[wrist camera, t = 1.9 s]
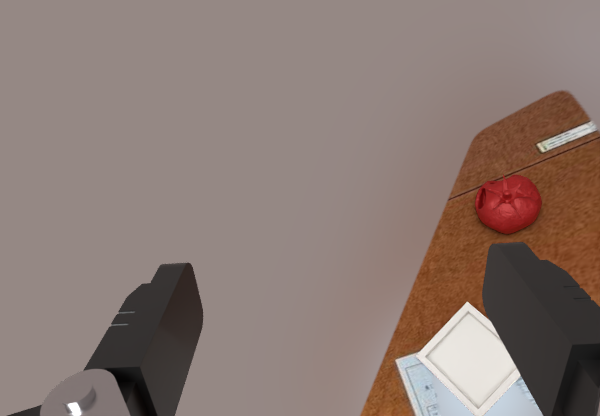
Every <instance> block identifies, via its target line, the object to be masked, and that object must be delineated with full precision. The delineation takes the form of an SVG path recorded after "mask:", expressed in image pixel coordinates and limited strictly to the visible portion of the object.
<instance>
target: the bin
mask: <svg viewBox="0 0 600 416" xmlns="http://www.w3.org/2000/svg"><path fill="white" fill-rule="evenodd" d="M416 357H417V358H418V359H419V360H420V361H421V362H422V363H423V364H424V365H425V366H426V367H427V368H428V369H429V370H430V371H431V372H432V373H433V374H434V375H435V376H436V377H437V378H438V379H439V380H440V381H441V382H442V383H443V384H444V385H445V386H446V387H447V388H448V389H449V390H450V391H451V392H452V393H453V394H454V395H455V396H456V397H457V398H458V399H459V400H460V401H461V402H462V403H463V404H464V405H465V406H466V407H467V408H468V409H469V410H470V411H471V412H472V413H473V414H474V415H475V416H483V415H484V414H485V413H486V412H487V411H488V410H489V409H490V408H491V407H492V406H493V405H494V404H495V403H496V402H497V401H498V399H499V398H500V397H501V396H502V395H503V394H504V393H505V392H506V391H507V390H508V389H509V388H510V387H511V386H512V385H513V384H514V383H515V381H516V380H517V379H518V378H519V377H520V376H521V375H520V373H519V371H518V369H517V368H516V366H515V364H514V362H513V360H512V359H511V357H510V355H509V353H508V351H507V350H506V348H505V346H504V344H503V342H502V341H501V339H500V337H499V335H498V334H497V332H496V330H495V328H494V326H493V325H492V323H491V321H489V320H488V319H487V318H486V317H485V316H484V315H482V314H481V313H480V312H479V311H478V310H477V309H475V308H474V307H473V306H472V305H471V304H469V303H468V302H466V303H465V305H464V306H463V307H462V308H461V309H460V310H459V311H458V312H457V313H456V314H455V315H454V316H453V317H452V318H451V319H450V320H449V321H448V322H447V324H446V325H445V326H444V327H443V328H442V329H441V330H440V331H439V332H438V333H437V334H436V335H435V336H434V337H433V338H432V339H431V340H430V341H429V343H428V344H427V345H426V346H425V347H424V348H423V349H422V350H421V351H420V352H419V353H418V354H417V355H416Z"/></svg>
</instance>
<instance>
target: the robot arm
mask: <svg viewBox="0 0 600 416" xmlns="http://www.w3.org/2000/svg"><path fill="white" fill-rule="evenodd" d="M579 286H580V285H579V284H578V283H577V282H576V281H575V280H574V279H573V278H572V277H571V276H570V275H569V274H568V273H567V272H566V271H565V270H563V269H561V268H560V267H558V266H556V265H555V264H553V263H551V262H550V261H548V260H539V258H538V257H537V256H536V255H535V254H534V253H533V252H532V250H531V249H530V248H529V247H528V246H527V245H526V244H525V243H523V242H515V243H498V244H492V245H491V246H490V248H489V251H488V257H487V264H486V271H485V277H484V284H483V291H482V297H483V304H484V308H485V311H486V314H487V316H488V317H489V319H490V321H491V323H492V325H493V326H494V328H495V330H496V332H497V334H498V335H499V337H500V339H501V341H502V342H503V344H504V346H505V348H506V350H507V351H508V353H509V355H510V357H511V359H512V360H513V362H514V364H515V366H516V368H517V369H518V371H519V373H520V375H521V376H522V378H523V380H524V382H525V384H526V385H527V387H528V389H529V391H530V393H531V394H532V396H533V398H534V400H535V402H536V403H537V405H538V407H539V409H540V410H541V412H542V414H543V416H600V307H599V306H598V305H597V304H596V303H595V302H594V301H593V300H591V299H590V298H591V297H590V296H589V295H588V294H587V293H586V292H585V291H584V290H583V289H582V288H580V287H579ZM111 324H112V326H111V327H109V328H108V330H107V332H106V334H105V335H104V337H103V338H102V340H101V342H100V344H99V345H98V347H97V349H96V350H95V352H94V354H93V355H92V357H91V359H90V360H89V362H88V364H87V366H86V367H85V369H84V371H82V372H79V373H77V374H74V375H72V376H70V377H68V378H67V379H65V380H64V381H62V382H61V383H60V384H58V385H57V386H56V387H55V388H54V389H53V390H52V391H51V392H50V393H49V394H48V396H47V397H46V399H45V400H44V402H43V404H42V405H40V406H37V407H34V408H31V409H27V410H24V411H21V412H18V413H14V414H11V415H8V416H175V413H176V410H177V406H178V403H179V400H180V397H181V394H182V390H183V387H184V384H185V381H186V378H187V375H188V371H189V368H190V365H191V362H192V359H193V356H194V352H195V349H196V346H197V343H198V340H199V336H200V333H201V330H202V325H203V309H202V304H201V299H200V295H199V291H198V287H197V283H196V279H195V275H194V271H193V267H192V265H191V264H190V263H176V264H162V265H160V267H159V268H158V270H157V272H156V274H155V276H154V277H153V279H152V281H151V283H148V284H141V285H140V286H139V287H138V288H137V289H136V290H135V291H133V292H132V293H131V294H130V295H129V296H128V297H127V298H126V300H125V301H124V303H123V305H122V306H121V308H120V310H119V314H117V315H116V317H115V318H114V320H113V322H112V323H111Z"/></svg>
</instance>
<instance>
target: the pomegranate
mask: <svg viewBox="0 0 600 416" xmlns="http://www.w3.org/2000/svg"><path fill="white" fill-rule="evenodd" d="M503 177H504V174H503ZM541 205H542V201H541V196H540V194H539V192H538V190H537V188H536V186H535V185H534V184H533V183H532V182H531V181H530V179H528V178H527V177H523V176H521V175H512V176H511V177H510V178H507V179H505V177H504V180H502V181H487V182H486V183H485V184H483V185H482V187H481V188H480V189H479V191H478V193H477V195H476V200H475V207H476V212H477V214H478V217H479V219H480V220H481V221H482V223H484V224H485V225H486V226H489V227H490V228H492V229H494V230H497V231H498V232H500V233H504V234H511V233H514V232H517V231H519V230H521V229H523V228H525V227H527V226H529V225H530V224H532V223H533V222H534V221H535V219H536V218H537V216H538V214H539V211H540V209H541Z"/></svg>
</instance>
